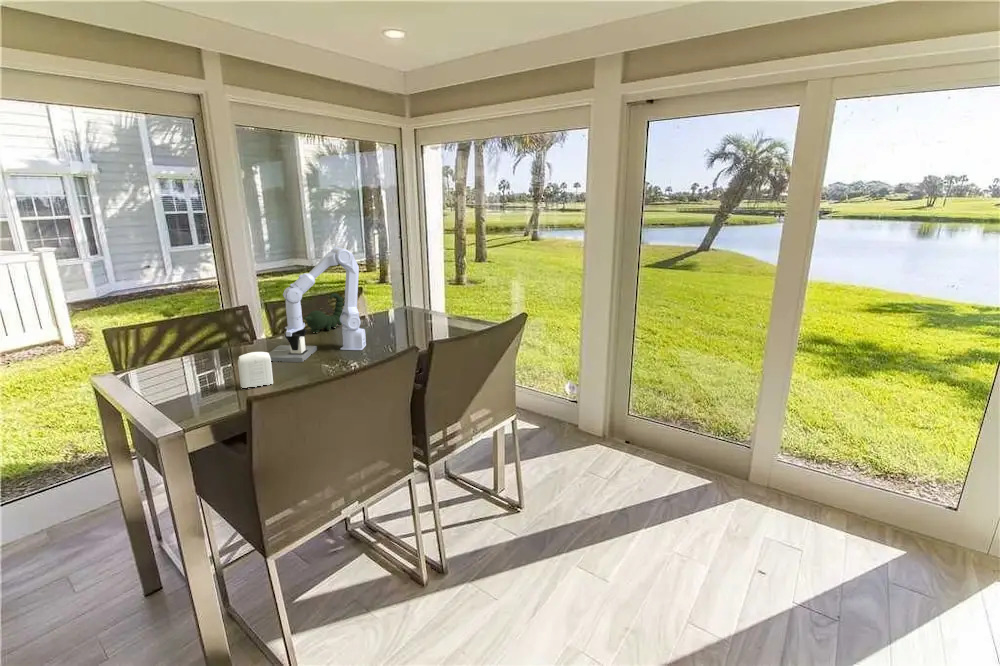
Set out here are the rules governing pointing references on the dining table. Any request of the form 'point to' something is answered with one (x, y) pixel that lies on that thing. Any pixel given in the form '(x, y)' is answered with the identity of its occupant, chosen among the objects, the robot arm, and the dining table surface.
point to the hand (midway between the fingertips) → (297, 348)
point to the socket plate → (290, 354)
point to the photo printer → (255, 369)
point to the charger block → (299, 346)
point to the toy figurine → (325, 316)
